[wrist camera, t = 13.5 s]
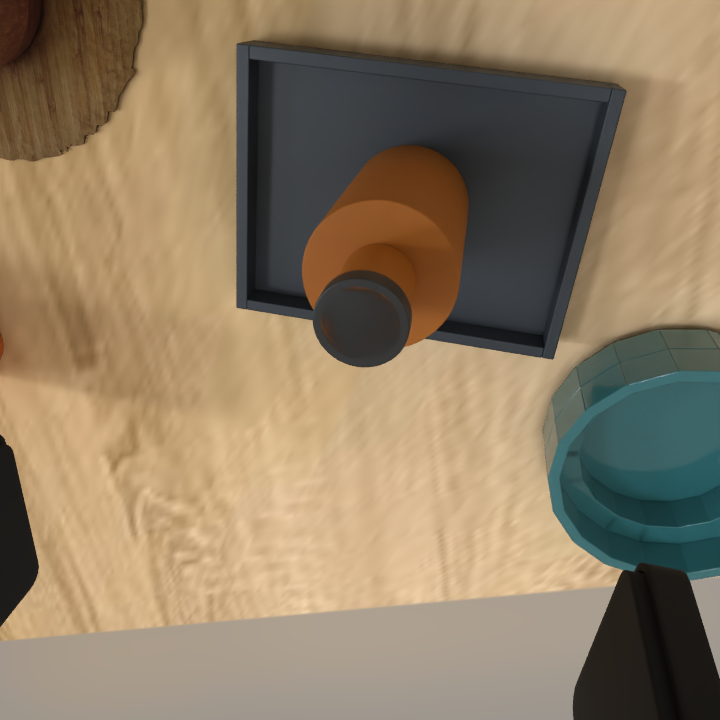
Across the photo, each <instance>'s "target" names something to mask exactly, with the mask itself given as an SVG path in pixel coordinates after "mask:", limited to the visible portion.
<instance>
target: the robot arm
mask: <svg viewBox="0 0 720 720" xmlns="http://www.w3.org/2000/svg"><path fill="white" fill-rule="evenodd" d="M38 569H39V565H38V559H37V555H36V550H35V546H34V541H33V537H32V533H31V528H30V524H29V519H28V515H27V510H26V506H25V502H24V497H23V493H22V488H21V484H20V479H19V475H18V471H17V466H16V462H15V457H14V453H13V450H12V448H11V447H10V446H9V445H6V442H5V439H4V438H3V437H2V436H1V435H0V627H1V625H2V624H3V623H4V622H5V620H6V619H7V618H8V616H9V615H10V614H11V613H12V611H13V610H14V609H15V608H16V606H17V605H18V604H19V603H20V601H21V600H22V599H23V598H24V596H25V595H26V594H27V592H28V591H29V590H30V589H31V587H32V586H33V584H34V582H35V580H36V577H37V574H38ZM573 717H574V720H720V678H719V675H718V672H717V669H716V665H715V662H714V659H713V655H712V652H711V649H710V646H709V642H708V639H707V636H706V632H705V629H704V626H703V623H702V619H701V616H700V613H699V609H698V606H697V603H696V600H695V597H694V593H693V590H692V587H691V583H690V580H689V578H688V575H687V574H686V573H685V572H684V571H682V570H677V569H672V568H667V567H662V566H657V565H652V564H647V563H639V564H638V565H637V567H636V569H635V570H634V571H629V570H624V571H622V573H621V575H620V577H619V580H618V582H617V584H616V587H615V590H614V592H613V594H612V597H611V599H610V602H609V604H608V607H607V609H606V612H605V614H604V617H603V619H602V622H601V624H600V626H599V629H598V631H597V634H596V636H595V639H594V641H593V644H592V646H591V649H590V651H589V654H588V657H587V659H586V661H585V664H584V666H583V668H582V671H581V674H580V676H579V678H578V681H577V684H576V686H575V691H574V697H573Z"/></svg>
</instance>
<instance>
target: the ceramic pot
mask: <svg viewBox="0 0 720 720" xmlns="http://www.w3.org/2000/svg"><path fill="white" fill-rule="evenodd" d="M141 27H142V2H141V0H0V158H3V159H7V160H16V159H25V160H28V161H37V160H39V159H40V158H45V157H55V156H59V155H62V154H61V152H60V150H65V151H68V150H67V148H66V147H70V145H71V144H73V145H82V144H84V135H86V136H88V133H90V134H92V135H93V134H94V133H95V132H96V127H97V125H101V126H102V125H103V124H104V123H106V122H107V115H108V111H112V112H115V109H116V106H117V102H118V96H119V95H120V93H121V92H122V90H123V88H124V86H125V84H126V83H127V81H128V80H129V79H130V78H131V77H132V76H133V75H134V72H135V70H133V69H132V68H131V67H132V62H133V49H134V48H135V46H136V44H137V43H138V32H139V31H140V29H141Z"/></svg>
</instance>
